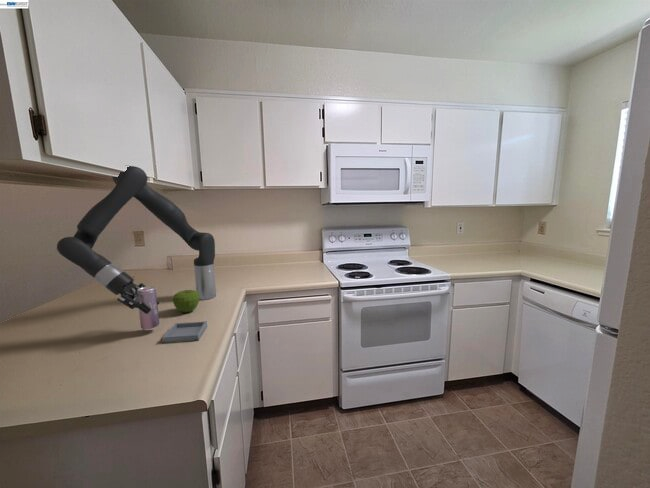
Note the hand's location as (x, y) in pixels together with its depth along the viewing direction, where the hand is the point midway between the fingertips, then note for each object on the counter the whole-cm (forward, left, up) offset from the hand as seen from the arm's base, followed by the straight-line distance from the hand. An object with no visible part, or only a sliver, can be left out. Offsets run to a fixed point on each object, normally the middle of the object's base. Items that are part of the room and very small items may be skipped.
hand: (153, 308), depth 104 cm
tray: (+4, +12, -9) cm, 16 cm away
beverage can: (0, -2, -7) cm, 8 cm away
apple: (-19, +5, -9) cm, 22 cm away
